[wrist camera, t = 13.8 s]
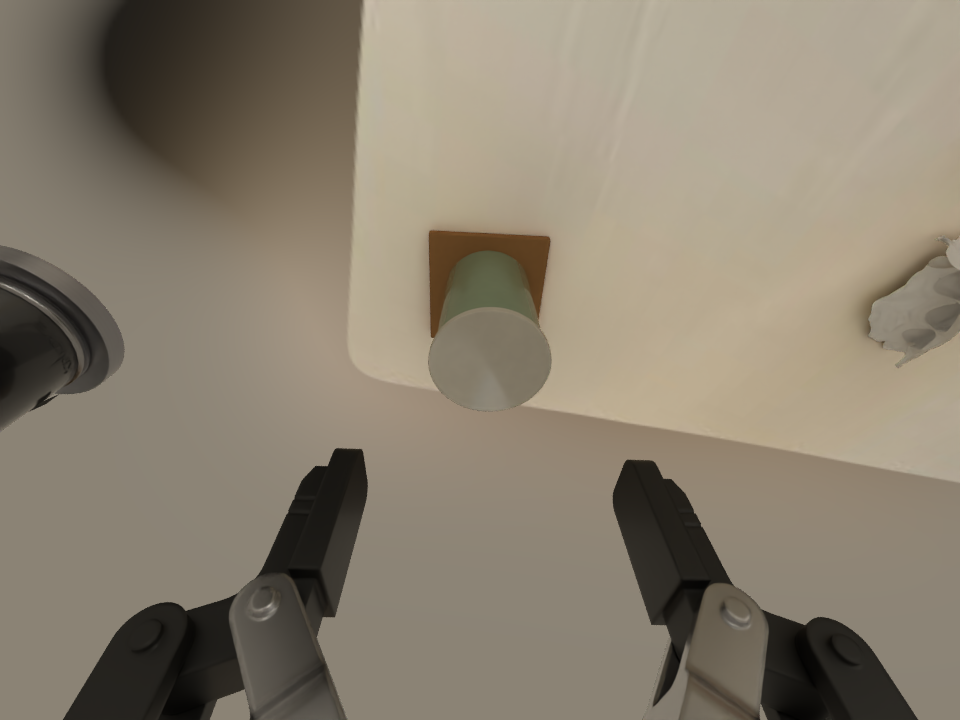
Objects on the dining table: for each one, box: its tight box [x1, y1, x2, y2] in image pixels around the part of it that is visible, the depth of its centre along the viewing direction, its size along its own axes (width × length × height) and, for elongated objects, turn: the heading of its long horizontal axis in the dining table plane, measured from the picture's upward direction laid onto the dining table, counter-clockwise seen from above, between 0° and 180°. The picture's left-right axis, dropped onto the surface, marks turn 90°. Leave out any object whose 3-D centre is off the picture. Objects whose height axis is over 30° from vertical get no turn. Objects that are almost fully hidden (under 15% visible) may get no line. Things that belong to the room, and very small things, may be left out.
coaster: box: [429, 231, 550, 338], centre depth 25 cm, size 7×7×1 cm
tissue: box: [868, 235, 960, 368], centre depth 24 cm, size 6×8×4 cm
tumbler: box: [428, 251, 551, 411], centre depth 21 cm, size 6×6×8 cm
